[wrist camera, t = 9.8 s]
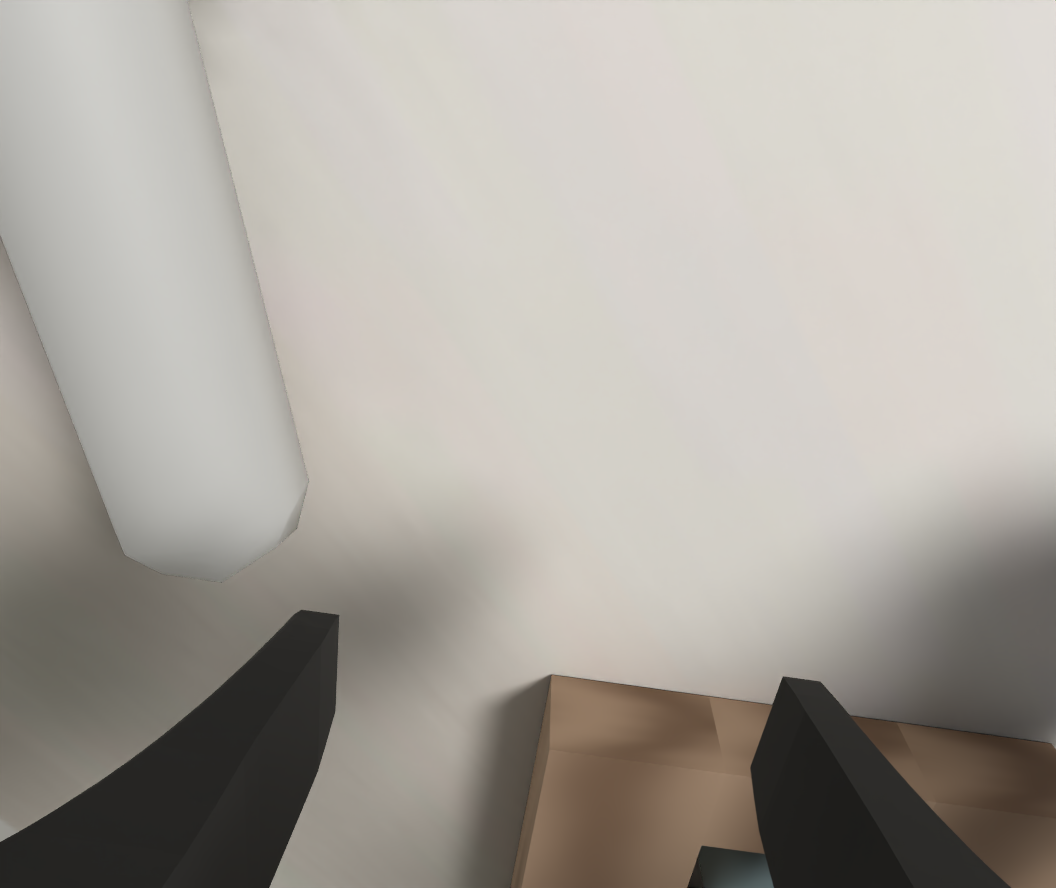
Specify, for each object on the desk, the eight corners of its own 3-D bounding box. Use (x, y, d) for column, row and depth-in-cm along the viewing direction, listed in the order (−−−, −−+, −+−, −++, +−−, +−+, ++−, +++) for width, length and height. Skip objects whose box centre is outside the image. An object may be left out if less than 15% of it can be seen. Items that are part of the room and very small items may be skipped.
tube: (339, 589, 19) (-151, -1357, 8) (103, 647, 18) (-819, -1511, 7) (326, 491, 24) (5, -835, 13) (140, 531, 23) (-385, -881, 12)
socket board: (1051, 743, 25) (1110, 825, 22) (918, 971, 30) (953, 1060, 28) (551, 675, 25) (549, 749, 22) (504, 916, 30) (498, 1001, 27)
